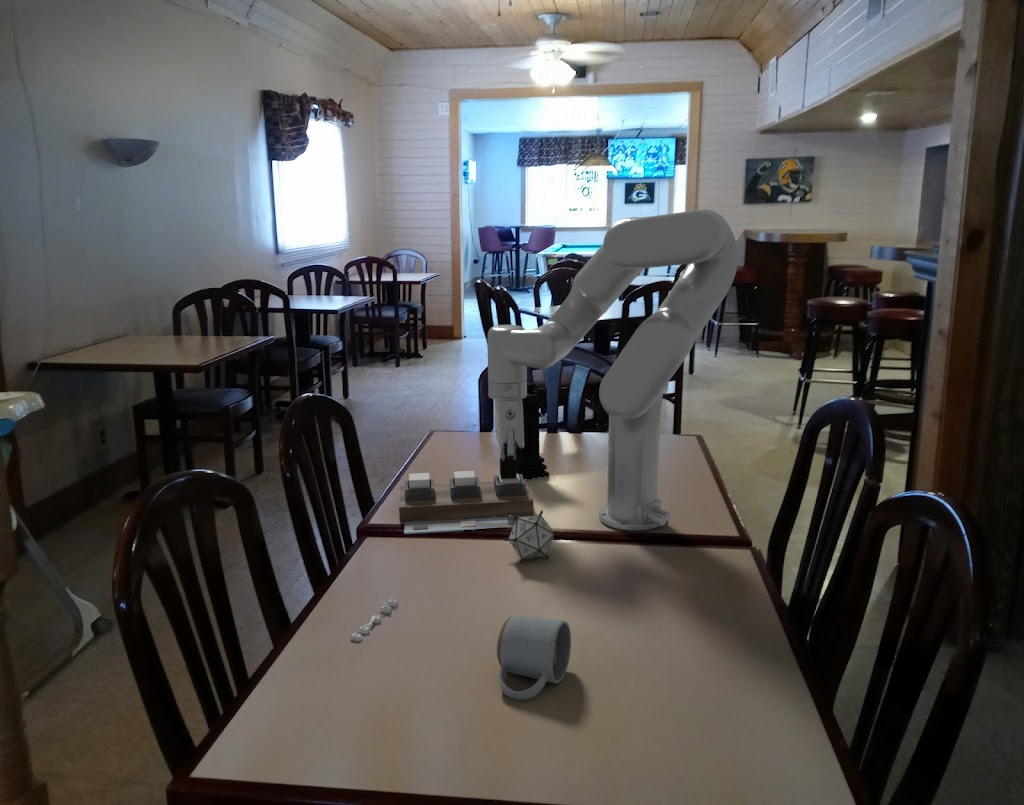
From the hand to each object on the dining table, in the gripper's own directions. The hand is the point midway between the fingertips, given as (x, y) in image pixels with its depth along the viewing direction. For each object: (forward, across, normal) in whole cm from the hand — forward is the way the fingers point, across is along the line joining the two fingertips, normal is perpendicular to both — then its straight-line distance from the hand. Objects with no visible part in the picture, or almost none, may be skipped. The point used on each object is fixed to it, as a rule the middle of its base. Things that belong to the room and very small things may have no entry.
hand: (508, 477), depth 162 cm
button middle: (+1, 0, +9) cm, 9 cm away
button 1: (+1, 0, +18) cm, 18 cm away
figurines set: (+6, -43, +25) cm, 50 cm away
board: (+6, -3, +9) cm, 11 cm away
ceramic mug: (+6, -61, +3) cm, 62 cm away
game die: (+6, -26, -1) cm, 26 cm away
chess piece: (+6, +19, -6) cm, 21 cm away
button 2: (+2, 0, 0) cm, 2 cm away
